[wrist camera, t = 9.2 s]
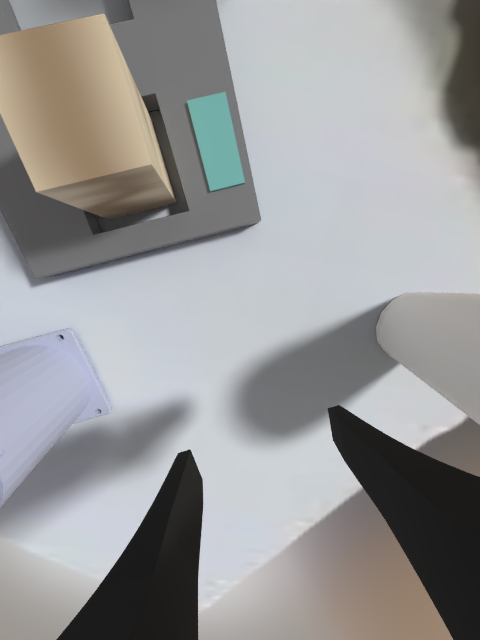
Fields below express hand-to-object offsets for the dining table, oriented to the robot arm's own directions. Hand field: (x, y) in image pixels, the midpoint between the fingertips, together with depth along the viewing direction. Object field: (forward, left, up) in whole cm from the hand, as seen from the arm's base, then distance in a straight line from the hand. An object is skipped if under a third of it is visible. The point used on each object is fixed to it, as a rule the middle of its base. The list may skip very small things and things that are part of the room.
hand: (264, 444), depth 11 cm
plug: (-4, +16, -10) cm, 19 cm away
